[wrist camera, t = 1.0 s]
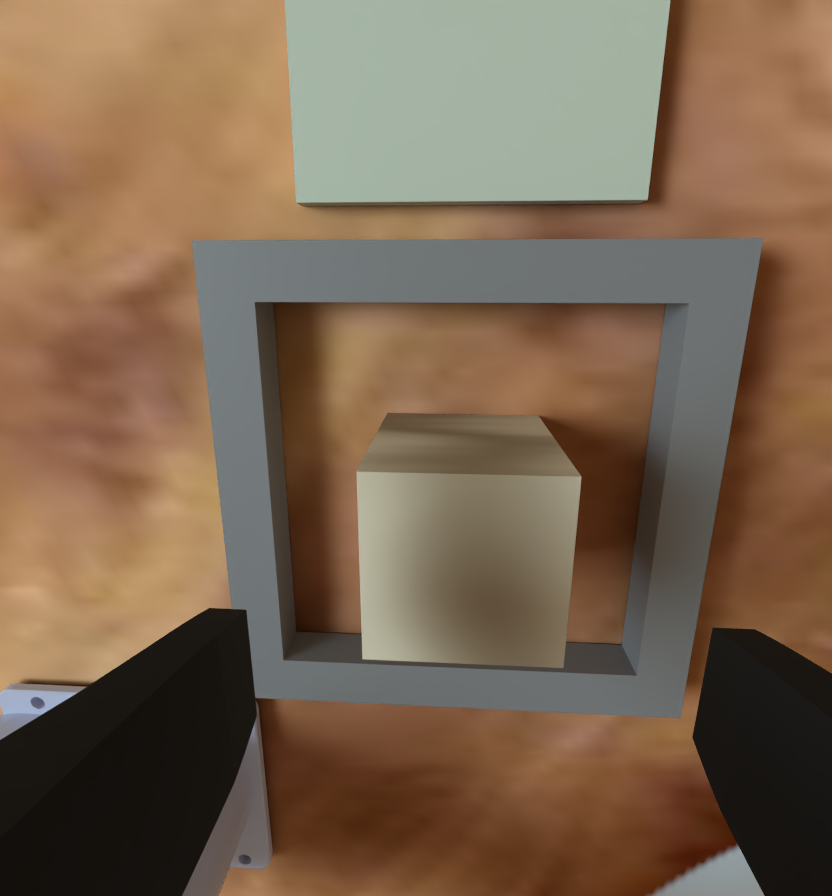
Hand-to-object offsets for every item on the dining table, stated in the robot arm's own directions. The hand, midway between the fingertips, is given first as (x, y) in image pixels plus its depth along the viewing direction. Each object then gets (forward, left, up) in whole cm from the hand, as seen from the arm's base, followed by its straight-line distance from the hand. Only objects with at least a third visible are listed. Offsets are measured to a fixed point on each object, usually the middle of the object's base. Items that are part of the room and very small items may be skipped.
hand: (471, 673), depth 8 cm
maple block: (0, 0, -9) cm, 9 cm away
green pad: (0, +12, -8) cm, 15 cm away
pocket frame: (0, 0, -8) cm, 8 cm away
